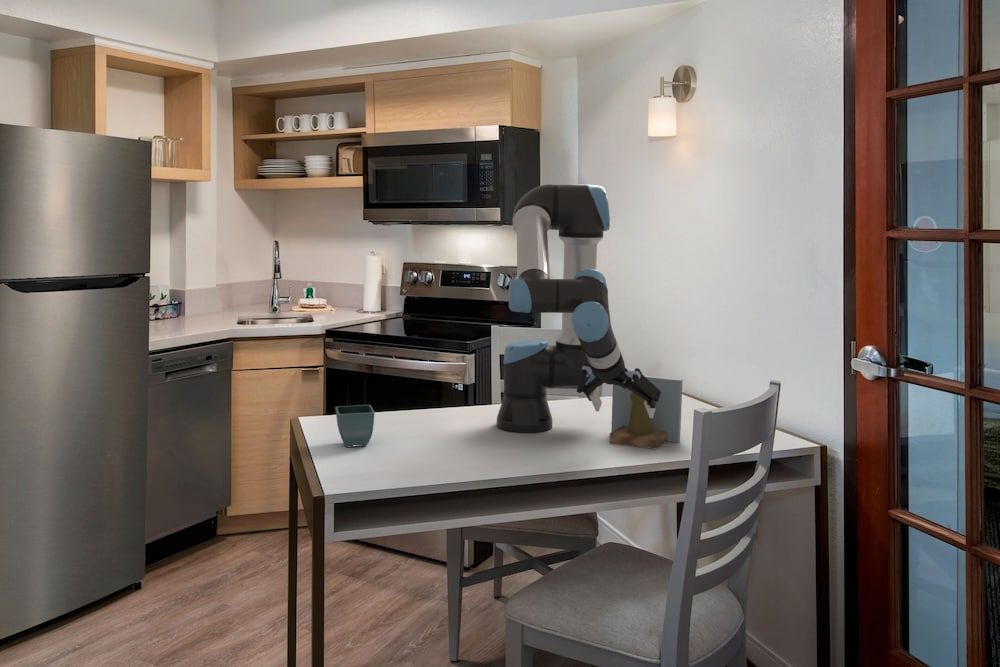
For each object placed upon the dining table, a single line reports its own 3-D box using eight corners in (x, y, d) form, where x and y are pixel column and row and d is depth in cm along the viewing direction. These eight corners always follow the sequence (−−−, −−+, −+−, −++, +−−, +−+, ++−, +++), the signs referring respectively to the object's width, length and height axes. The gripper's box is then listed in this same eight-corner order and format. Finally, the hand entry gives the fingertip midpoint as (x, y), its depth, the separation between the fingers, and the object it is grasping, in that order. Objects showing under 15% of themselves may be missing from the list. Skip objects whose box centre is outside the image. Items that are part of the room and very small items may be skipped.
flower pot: (338, 450, 204) (338, 413, 203) (335, 441, 212) (335, 406, 211) (375, 448, 206) (374, 412, 205) (370, 439, 215) (370, 404, 214)
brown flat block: (609, 442, 215) (610, 432, 214) (622, 435, 222) (622, 425, 222) (655, 449, 209) (656, 439, 209) (666, 441, 217) (667, 431, 216)
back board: (611, 433, 224) (613, 373, 222) (613, 432, 225) (615, 372, 223) (678, 442, 215) (680, 380, 213) (680, 441, 217) (682, 379, 215)
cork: (634, 428, 219) (635, 386, 218) (655, 431, 216) (657, 389, 214) (623, 432, 214) (624, 390, 213) (645, 436, 211) (646, 393, 210)
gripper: (548, 365, 194) (573, 416, 209) (654, 376, 182) (672, 429, 197) (558, 339, 198) (581, 391, 213) (662, 348, 186) (679, 403, 201)
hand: (625, 410), depth 205 cm, fingers open, 13 cm apart
